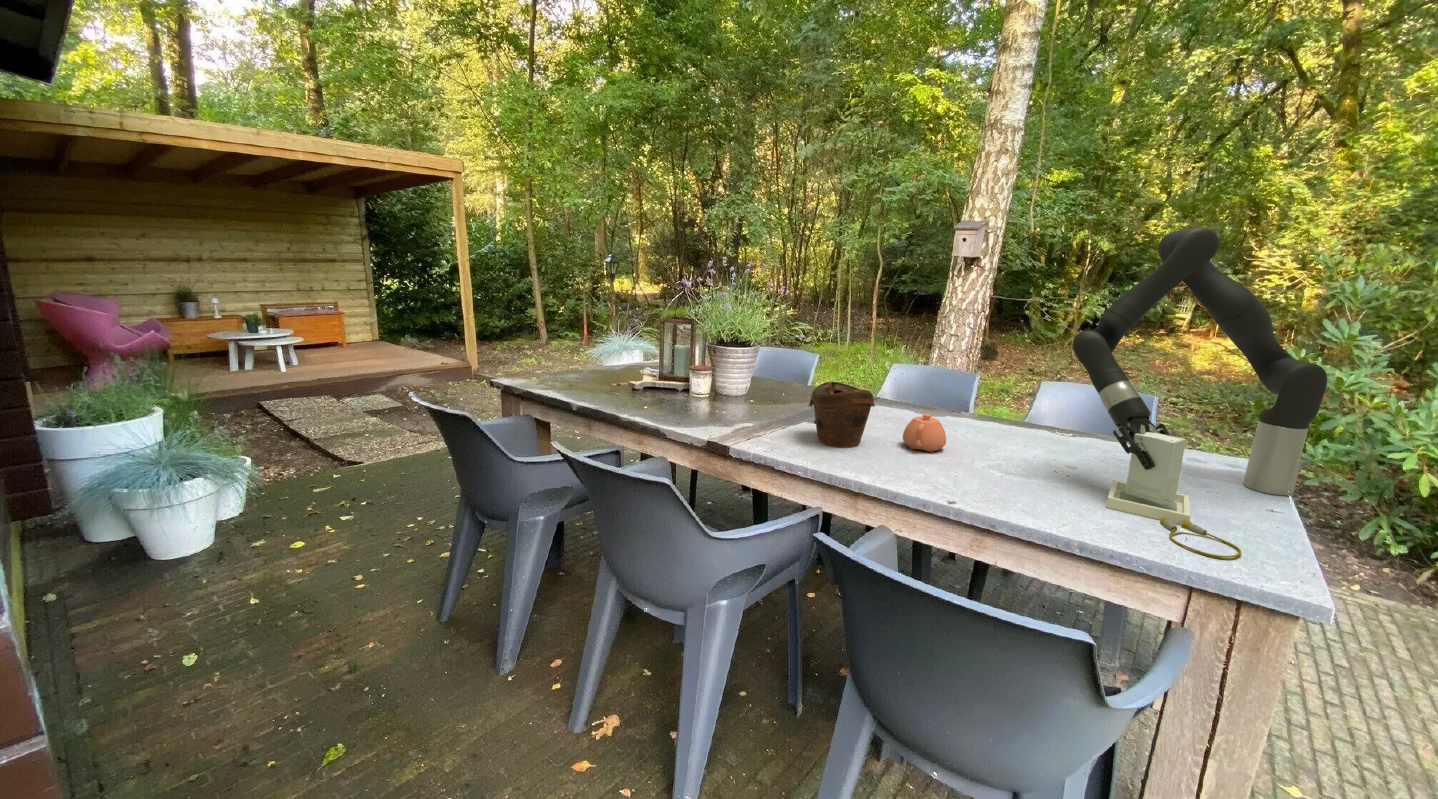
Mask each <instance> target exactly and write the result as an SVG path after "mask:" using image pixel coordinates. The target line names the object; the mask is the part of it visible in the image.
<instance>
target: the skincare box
mask: <svg viewBox="0 0 1438 799" xmlns="http://www.w3.org/2000/svg"><path fill="white" fill-rule="evenodd" d="M1141 437H1142V439H1143V444H1144V446H1145V448H1146V451H1147V452H1148V454H1149V455H1150V457H1151V459H1152V460H1153V462H1154V464H1155V467H1154V468H1152V469H1150V470H1145V469H1144V467H1143V466H1142V464H1141V463H1140V461H1139V459H1138V458H1137V456H1135V455H1133V453H1130V462H1129V468H1128V472H1127V473H1128V474H1127V478H1126V479H1127V480H1126V483H1127V485H1126V491H1125V493H1127V494H1131V495H1134V496H1137V497H1140V498H1143V499H1146V500H1149V501H1152V502H1155V503H1158V504H1165V503H1170V502H1174V500H1175V499H1176V493H1177V492H1178V488H1179V481H1180V475H1181V470H1182V464H1183V460H1184V459H1183V458H1184V454H1185V453H1184V452H1185V447H1186V441H1187V439H1186V438H1182V437H1177V436H1173V435H1170V436H1168V435H1164V434H1159V433H1153V432H1145V434H1139V433H1138V434H1135V435H1134V441H1135V442H1136V441H1137V440H1138V439H1140V438H1141ZM1137 446H1138V447H1139V443H1138V444H1137Z"/></svg>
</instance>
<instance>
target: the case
mask: <svg viewBox="0 0 1438 799" xmlns="http://www.w3.org/2000/svg"><path fill="white" fill-rule="evenodd" d="M809 407H810V409H811V410H812V407H813V410H814V411H813V412H814V419H815V420H813V423H814V424H815V428H816V435H817V440H818V441H819V442H820V443H822V444H824V445H826V446H829V447H833V448H834V447H835V448H854V447H857V446H859V445H860V444H861V441H862V438H863V435H864V434H863V433H864V432H865V428H866V425H867V421H868V420H869V416H870V411H871V408H872V407H875V399H874V393H872V391H870V390H867V389H859V388H858V387H855V386H852V385H850V384H846V383H842V382H837V381H826V382H823V383H820V384H818V386H816V387H815V389H813V391H812V393H811V395H810V400H809V405H808V408H809Z"/></svg>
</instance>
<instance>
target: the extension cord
mask: <svg viewBox="0 0 1438 799" xmlns="http://www.w3.org/2000/svg"><path fill="white" fill-rule="evenodd" d="M1159 522H1160V525H1162V527H1164V528H1165V529H1167V530H1170V533H1168V537H1169V540H1170V541H1171V542H1172V543H1174V544H1176V545H1177V546H1179V547H1181V549H1185V550H1187V551H1188V552H1191V553H1194V554H1197V555H1201V556H1204V557H1208V558H1214V559H1219V560H1224V561H1225V560H1226V561H1234V560H1237V559H1239V558H1240V556H1241V554H1242V550H1241V549H1240V547H1238V546H1237V545H1235V544H1233V543H1231V542H1229V541H1227V540H1225V539H1223V538H1220V537H1217V536H1215V535H1213V534H1211V533H1209V532H1208V531H1207V530H1206V529H1204V528H1202V526H1199V525H1197V524H1194V523H1192V521H1189V522H1186V521H1185V522H1183V524H1182V525H1180V528H1182V529H1185V530H1187V531H1189V532H1185V531H1178V532H1177V530H1178V524H1176V523H1173V522H1172V521H1170V520H1168V519H1167V518H1162V519H1161V520H1159ZM1190 532H1192V533H1190ZM1176 535H1189V536H1195V537H1201V538H1204V539H1205V538H1206V539H1209V540H1213V541H1216V542H1219V543H1222V544H1225V545H1226V546H1227V545H1228V546H1229V547H1232V548H1233V549H1235V550H1236V551H1237V553H1236V554H1234V555H1219V554H1214V553H1213V554H1212V553H1209V552H1205V551H1201V550H1198V549H1195V548H1192V547H1190V546H1188V545H1186V544H1183V543H1180V542H1179V541H1177V540H1175V539H1174V538H1173V536H1176ZM1206 535H1207V536H1206ZM1208 536H1209V537H1208Z"/></svg>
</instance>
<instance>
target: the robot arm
mask: <svg viewBox="0 0 1438 799" xmlns="http://www.w3.org/2000/svg"><path fill="white" fill-rule="evenodd" d="M1157 248H1158V249H1157V251H1158V252H1157V253H1158V256H1159V259H1160V260H1161V262H1162V264H1160V265H1159V266H1158V267H1157V268H1156V269H1155V270H1154V271H1152V272H1151V273H1150V274H1149V275H1148V276H1146V277H1145V278H1143V279H1142V280H1141V281H1139V282H1138V283H1137V284H1135V285H1133V286H1132V287H1131V288H1128V290H1127V291H1125V292H1124V293H1123V294H1122V295H1121V296H1119V297H1118V298H1117V299H1116V300H1115V301H1114V302H1113V303H1112V304H1111V306H1109V307H1108V308H1107V309H1106V310H1105V311H1104V313H1103V314H1101V316H1100V317H1099V319H1098V325H1097V326H1096V328H1095V329H1094V330H1084V331H1081V332H1079V333H1078V334H1077V335H1075V337H1074V338H1073V340H1072V350H1073V352H1074V355H1075V357H1076V359H1077V361H1078V362H1080V363H1081V364H1082V366H1083V368H1084V370H1086V372H1087V374H1088V376H1089V379H1090V381H1091V384H1092V385H1093V388H1094V389H1095V391H1096V392H1097V394H1098V395H1099V398H1100V400H1101V402H1102V404H1103V406H1104V408H1105V410H1106V411H1107V413H1108V415H1109V417H1110V418H1111V420H1112V422H1113V423H1114V425H1115V427H1116V428H1115V430H1113V431H1112V433H1113V435H1114V436H1115V438H1116V440H1117V441H1118V443H1119V444H1120V446H1121V447H1122V448H1123V450H1124V452H1125V453H1126V454H1128V455H1129V454H1132V453H1133V455H1135V456H1137V458H1138V459H1139V461H1140V463H1141V464H1142V466H1143V467H1144V469H1145V470H1150V469H1152V468H1154V467H1155V464H1154V462H1153V460H1152V459H1151V457H1150V455H1149V454H1148V452H1147V451H1146V448H1145V446H1144V444H1143V439H1142V437H1141V438H1140V439H1138V440H1137V441H1136V442H1135V441H1134V435H1135V434H1138V433H1139V434H1145V432H1153V433H1159V434H1164V435H1168V436H1171V435H1170V433H1169V431H1168V429H1167V427H1166V426H1165V424H1164V423H1162V422H1161V423H1160V424H1154V423H1153V422H1152V421H1151V419H1150V416H1151V414H1152V413H1151V411H1150V409H1149V407H1148V406H1147V404H1146V402H1145V401H1144V400H1143V397H1142V396H1141V395H1140V393H1139V391H1138V390H1137V389H1136V387H1135V386H1134V385H1133V384H1132V382H1130V380H1129V378H1128V376H1127V375H1126V373H1125V372H1124V370H1123V368H1122V367H1121V366H1120V365H1119V363H1118V362H1117V360H1116V358H1115V356H1114V355H1113V351H1114V350H1115V349H1116V347H1117V346H1118V344H1120V342H1121V340H1123V339H1122V338H1123V337H1124V336H1125V334H1127V333H1128V332H1129V331H1130V330H1131V329H1132V328H1133V327H1134V326H1135V325H1136V324H1137V323H1138V322H1139V321H1140V320H1141V319H1142V318H1143V317H1144V316H1145V315H1146V314H1147V313H1148V312H1149V311H1150V310H1151V309H1152V308H1153V307H1154V306H1155V305H1156V304H1157V303H1158V302H1160V301H1161V300H1162V299H1163V298H1164V297H1165V296H1166V295H1168V294H1169V293H1170V292H1171V291H1172V290H1174V289H1175V288H1176V287H1177V286H1178V285H1179V284H1181V283H1183V284H1184V285H1186V287H1187V288H1188V289H1189V290H1190V292H1191V293H1192V294H1193V296H1194V297H1195V298H1196V299H1197V301H1198V302H1199V303H1200V304H1201V306H1203V308H1204V309H1205V310H1206V312H1208V314H1209V316H1210V317H1211V318H1212V319H1213V320H1214V322H1215V324H1216V325H1217V326H1218V327H1219V329H1221V331H1223V333H1224V334H1225V335H1226V336H1227V338H1229V339H1230V341H1231V342H1232V343H1233V344H1234V346H1235V347H1237V349H1238V350H1239V351H1240V352H1241V353H1242V354H1243V356H1244V357H1245V358H1246V359H1247V362H1248V363H1249V364H1250V366H1251V368H1252V369H1253V371H1254V372H1255V373H1256V375H1257V377H1258V379H1259V381H1260V382H1261V384H1262V385H1263V387H1265V389H1267V390H1269V391H1270V392H1271V393H1273V394H1275V395H1277V397H1276V401H1275V404H1274V405H1273V406H1272V407H1269V408H1263V409H1262V410H1261V412H1260V414H1259V417H1258V418H1259V419H1258V422H1257V425H1256V429H1255V433H1254V437H1253V438H1254V439H1253V441H1252V446H1251V450H1250V454H1249V458H1248V462H1247V465H1246V470H1245V474H1244V477H1243V482H1242V485H1243V486H1244V487H1246V488H1248V489H1251V490H1254V491H1256V492H1261V493H1265V494H1269V495H1276V496H1287V497H1293V495H1294V492H1295V488H1296V485H1297V481H1298V476H1299V473H1300V470H1301V466H1302V464H1303V459H1302V454H1303V450H1304V446H1305V442H1306V439H1307V435H1308V431H1309V428H1310V425H1311V422H1313V420H1314V419H1315V418H1316V417H1317V415H1318V413H1319V410H1320V407H1321V405H1322V402H1323V399H1324V396H1325V393H1326V390H1327V386H1328V374H1327V372H1326V370H1325V369H1324V368H1323V367H1322V366H1321V365H1319V364H1317V363H1313V362H1309V361H1305V360H1299V359H1296V358H1295V357H1293V356H1291V354H1290V353H1288V351H1286V350H1285V348H1284V347H1283V346H1282V345H1281V344H1280V343H1279V342H1278V340H1277V339H1276V335H1275V334H1274V326H1273V321H1272V317H1271V315H1270V313H1269V311H1268V310H1267V308H1266V307H1265V306H1264V305H1263V303H1262V302H1261V301H1260V299H1258V298H1257V296H1256V295H1255V293H1253V292H1252V291H1251V290H1249V288H1247V287H1246V286H1244V285H1243V284H1241V283H1240V282H1238V281H1237V280H1235V279H1233V278H1232V277H1230V276H1228V275H1227V274H1226V273H1224V272H1223V271H1221V270H1220V269H1218V268H1217V267H1216V266H1215V265H1214V264H1213V262H1212V261H1211V260H1213V258H1214V257H1215V255H1217V252H1218V250H1219V248H1220V239H1219V235H1218V234H1217V232H1215V231H1214V230H1212V229H1211V228H1207V227H1202V226H1201V227H1189V228H1185V229H1177V230H1174V231H1171V232H1169V233H1167V234H1165V235H1164V236H1163V237H1162V239H1160V241H1159V243H1158V247H1157ZM1138 443H1139V447H1138V446H1137V444H1138ZM1128 444H1129V445H1128ZM1288 491H1289V492H1288Z"/></svg>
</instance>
